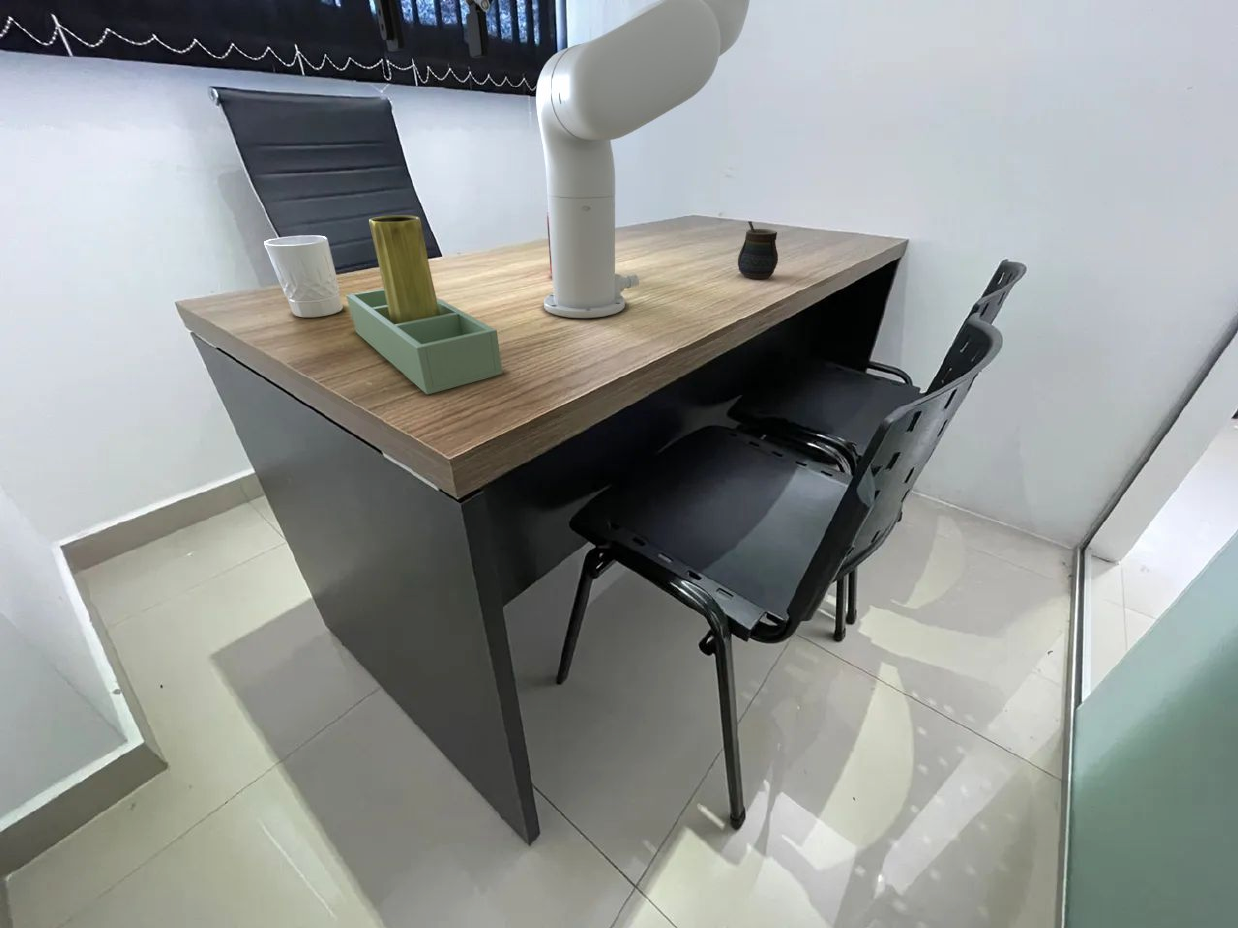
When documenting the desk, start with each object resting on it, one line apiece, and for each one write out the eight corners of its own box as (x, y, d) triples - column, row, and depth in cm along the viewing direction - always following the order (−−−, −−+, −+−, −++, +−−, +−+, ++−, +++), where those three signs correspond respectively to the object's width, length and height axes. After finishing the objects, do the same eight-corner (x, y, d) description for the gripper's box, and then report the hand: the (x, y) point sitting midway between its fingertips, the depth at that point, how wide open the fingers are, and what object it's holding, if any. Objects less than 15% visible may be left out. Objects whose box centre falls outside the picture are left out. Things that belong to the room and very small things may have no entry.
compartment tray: (420, 320, 74) (412, 284, 71) (502, 374, 58) (497, 330, 55) (356, 332, 69) (345, 294, 67) (427, 395, 53) (416, 348, 51)
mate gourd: (782, 276, 97) (792, 218, 92) (762, 284, 93) (772, 223, 87) (748, 270, 101) (756, 215, 96) (728, 277, 96) (735, 219, 91)
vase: (447, 351, 62) (423, 221, 54) (393, 356, 60) (360, 223, 52) (446, 335, 66) (424, 213, 59) (396, 339, 65) (367, 215, 57)
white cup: (324, 321, 73) (300, 246, 68) (276, 317, 75) (249, 244, 69) (358, 305, 80) (339, 236, 74) (313, 302, 81) (292, 234, 76)
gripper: (315, -231, 41) (370, 43, 50) (507, -165, 50) (524, 57, 60) (294, -193, 46) (348, 50, 55) (473, -139, 55) (493, 62, 64)
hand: (439, 54), depth 57 cm, fingers open, 9 cm apart
